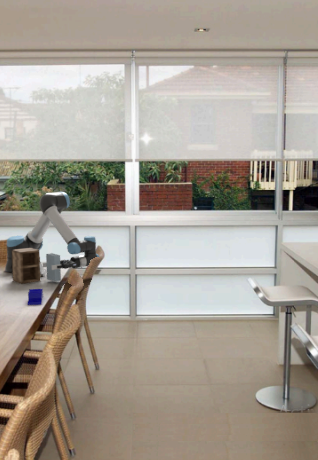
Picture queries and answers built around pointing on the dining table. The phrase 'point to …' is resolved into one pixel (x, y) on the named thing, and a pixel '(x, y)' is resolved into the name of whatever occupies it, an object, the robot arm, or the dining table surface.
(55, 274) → the upright grey-blue slab
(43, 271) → the white rounded housing
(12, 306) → the dining table surface
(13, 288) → the dining table surface
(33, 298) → the mounting bracket
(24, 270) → the cabinet
